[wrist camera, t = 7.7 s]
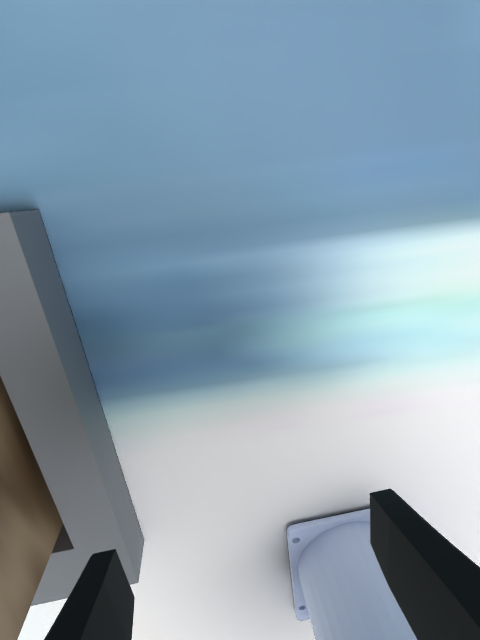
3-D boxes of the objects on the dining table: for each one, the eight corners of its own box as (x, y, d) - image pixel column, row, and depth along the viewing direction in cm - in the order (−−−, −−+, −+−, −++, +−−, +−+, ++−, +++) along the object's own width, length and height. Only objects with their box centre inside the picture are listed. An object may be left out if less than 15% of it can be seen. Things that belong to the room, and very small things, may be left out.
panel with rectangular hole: (144, 540, 22) (138, 582, 19) (12, 568, 21) (-11, 614, 19) (38, 209, 14) (9, 212, 12) (-165, 236, 14) (-238, 244, 12)
